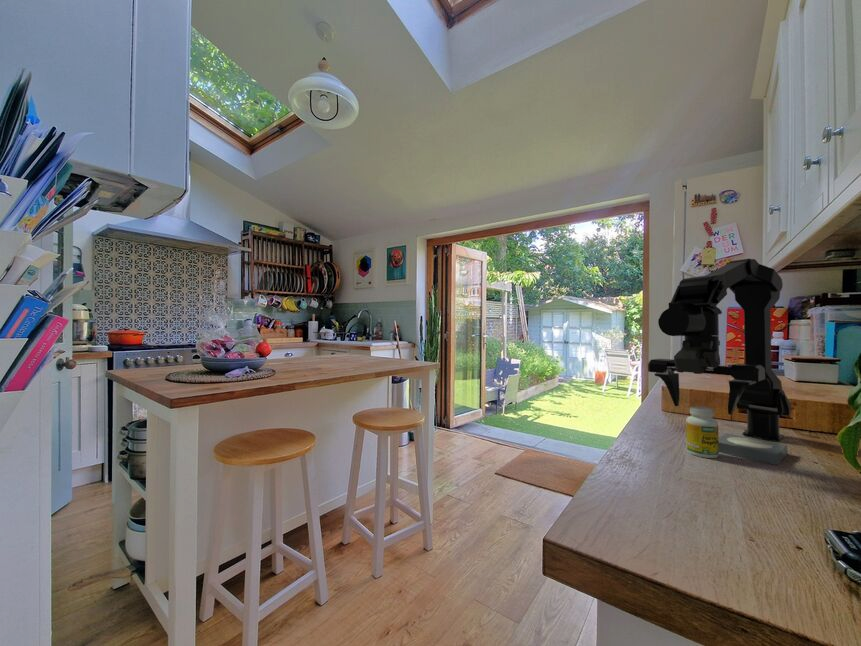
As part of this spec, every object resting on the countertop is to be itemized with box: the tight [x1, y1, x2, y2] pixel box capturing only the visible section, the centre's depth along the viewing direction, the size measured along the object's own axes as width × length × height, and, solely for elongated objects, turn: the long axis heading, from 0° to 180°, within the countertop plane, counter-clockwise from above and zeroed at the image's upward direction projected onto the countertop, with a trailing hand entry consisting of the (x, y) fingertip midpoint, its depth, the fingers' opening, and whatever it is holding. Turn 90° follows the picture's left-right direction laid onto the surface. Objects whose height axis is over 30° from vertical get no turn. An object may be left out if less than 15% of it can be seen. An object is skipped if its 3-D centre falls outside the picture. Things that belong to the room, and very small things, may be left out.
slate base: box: [718, 432, 788, 466], centre depth 74 cm, size 10×10×2 cm
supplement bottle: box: [685, 406, 720, 459], centre depth 73 cm, size 5×5×10 cm
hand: (702, 409), depth 73 cm, fingers open, 9 cm apart
